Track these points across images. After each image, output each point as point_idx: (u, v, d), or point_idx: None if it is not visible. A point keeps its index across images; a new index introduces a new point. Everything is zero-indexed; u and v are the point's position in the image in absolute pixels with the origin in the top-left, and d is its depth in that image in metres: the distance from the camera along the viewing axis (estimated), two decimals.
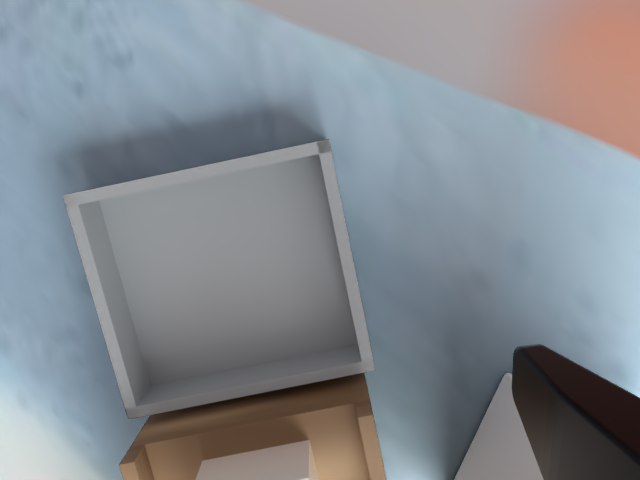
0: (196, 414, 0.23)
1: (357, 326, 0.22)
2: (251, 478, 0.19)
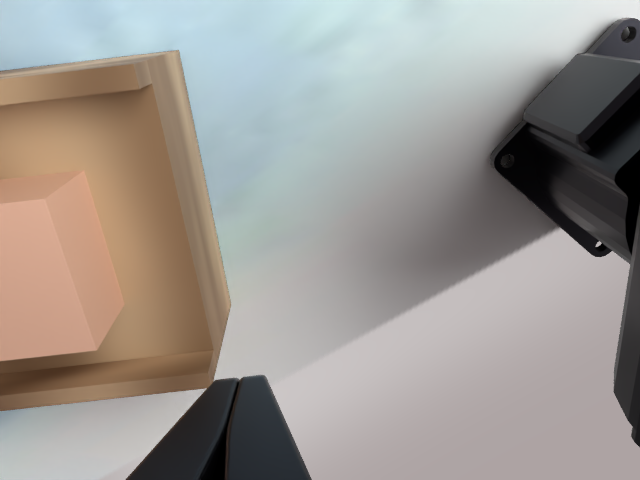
0: None
1: None
2: None
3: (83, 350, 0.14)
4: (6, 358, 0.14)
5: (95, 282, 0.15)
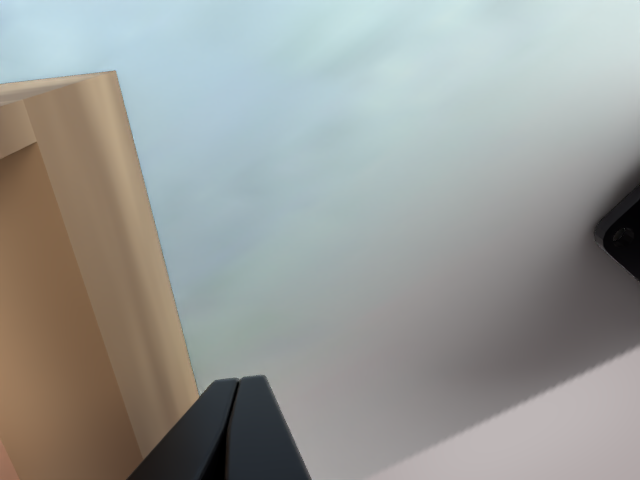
0: None
1: None
2: None
3: None
4: None
5: None
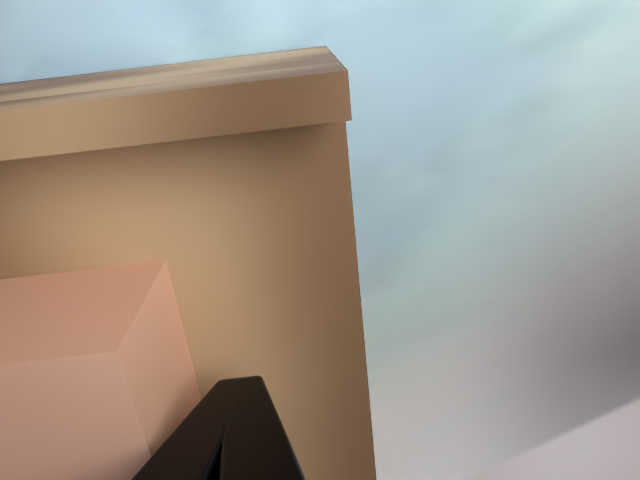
0: None
1: None
2: None
3: None
4: None
5: None
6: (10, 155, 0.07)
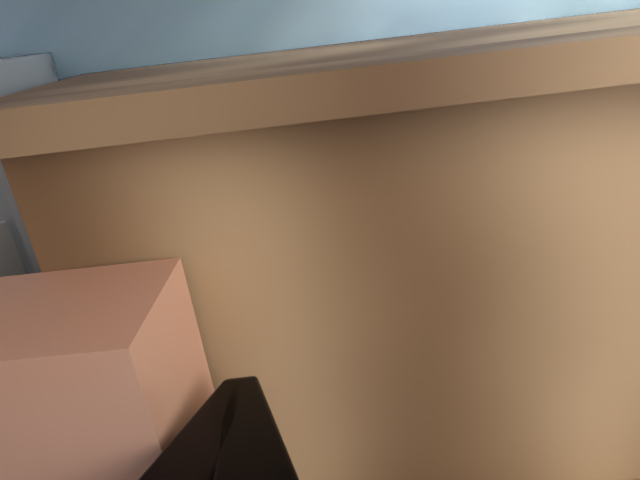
0: None
1: None
2: None
3: None
4: None
5: None
6: (612, 82, 0.07)
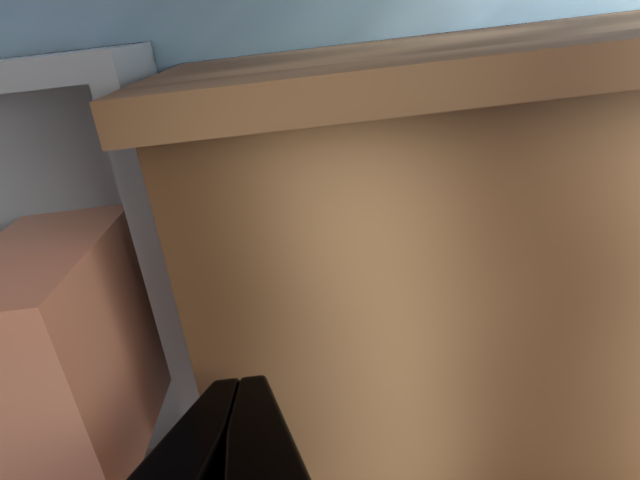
0: None
1: None
2: None
3: None
4: None
5: (14, 466, 0.09)
6: None
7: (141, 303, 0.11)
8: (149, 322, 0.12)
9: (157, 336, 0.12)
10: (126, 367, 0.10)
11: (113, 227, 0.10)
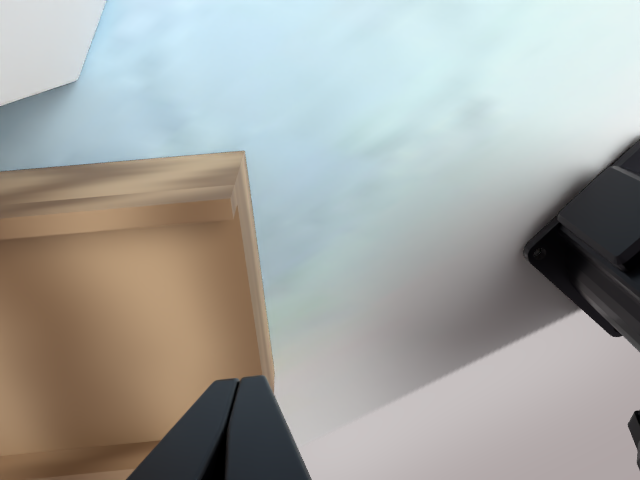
0: None
1: None
2: None
3: None
4: None
5: None
6: (74, 230, 0.14)
7: None
8: None
9: None
10: None
11: None
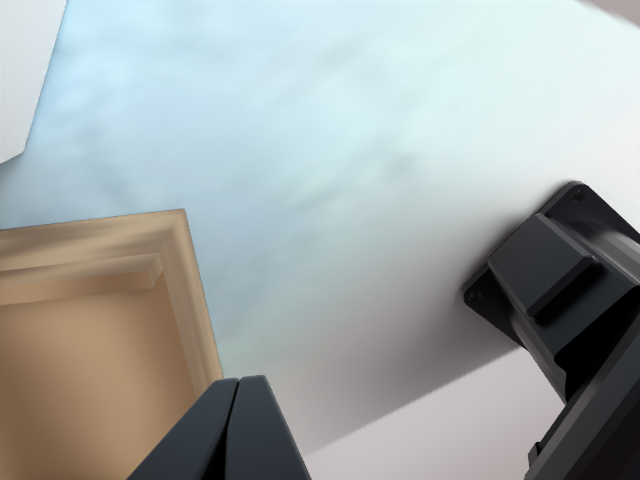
0: None
1: None
2: None
3: None
4: None
5: None
6: (9, 302, 0.15)
7: None
8: None
9: None
10: None
11: None
